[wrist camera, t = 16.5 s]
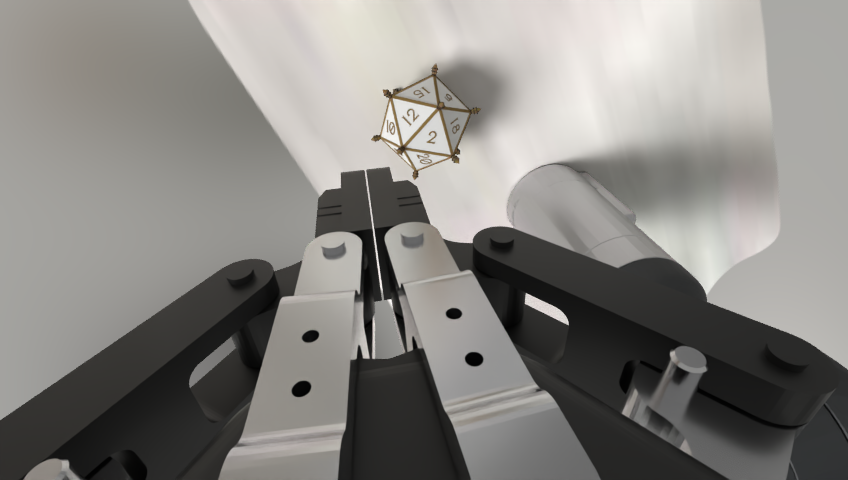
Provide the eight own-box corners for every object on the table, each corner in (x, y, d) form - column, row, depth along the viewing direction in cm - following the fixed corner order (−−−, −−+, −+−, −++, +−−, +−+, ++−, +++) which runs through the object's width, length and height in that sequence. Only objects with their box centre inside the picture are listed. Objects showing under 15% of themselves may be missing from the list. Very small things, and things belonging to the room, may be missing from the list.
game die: (429, 105, 43) (490, 171, 40) (358, 142, 41) (416, 215, 37) (433, 28, 35) (509, 102, 32) (345, 68, 33) (417, 152, 29)
